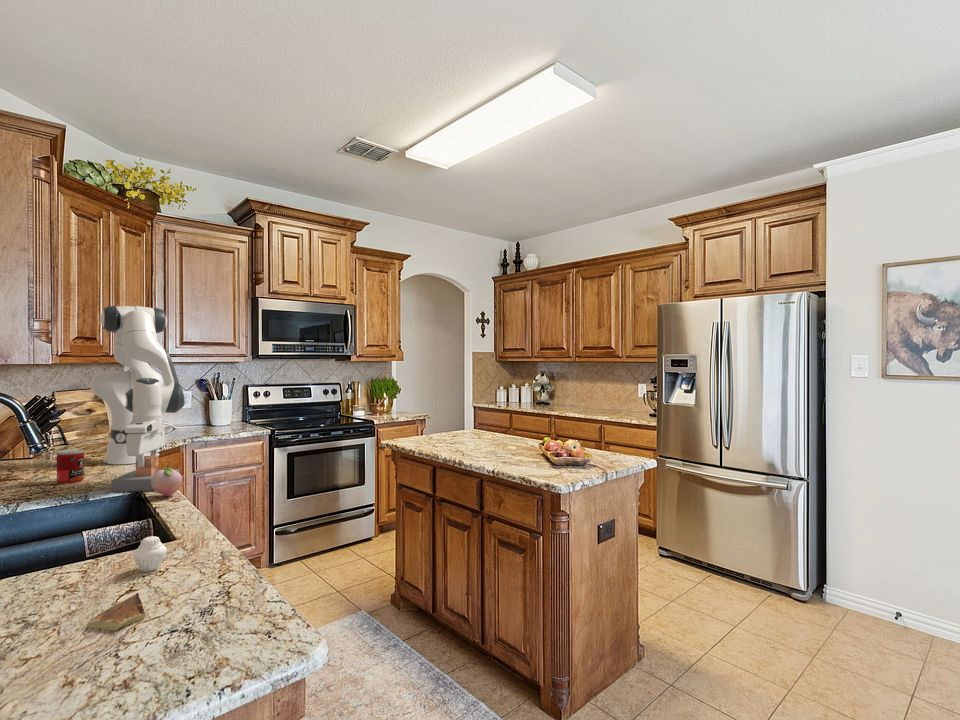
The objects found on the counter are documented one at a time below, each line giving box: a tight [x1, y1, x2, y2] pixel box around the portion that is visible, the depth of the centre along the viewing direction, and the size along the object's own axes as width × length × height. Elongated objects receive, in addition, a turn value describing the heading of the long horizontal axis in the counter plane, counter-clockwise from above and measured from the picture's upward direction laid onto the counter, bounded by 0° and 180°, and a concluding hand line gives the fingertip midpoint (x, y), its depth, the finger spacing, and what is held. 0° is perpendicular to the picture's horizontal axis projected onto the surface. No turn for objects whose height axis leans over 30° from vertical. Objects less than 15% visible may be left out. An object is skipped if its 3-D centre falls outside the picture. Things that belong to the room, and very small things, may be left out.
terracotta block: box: [135, 456, 159, 476], centre depth 180 cm, size 5×5×6 cm
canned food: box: [56, 448, 85, 484], centre depth 185 cm, size 8×8×11 cm
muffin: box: [132, 535, 168, 573], centre depth 110 cm, size 6×6×7 cm
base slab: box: [111, 468, 180, 493], centre depth 180 cm, size 15×15×4 cm
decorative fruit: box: [151, 465, 183, 498], centre depth 166 cm, size 9×8×10 cm
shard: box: [86, 592, 147, 631], centre depth 91 cm, size 11×8×2 cm
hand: (147, 464), depth 180 cm, fingers open, 6 cm apart
